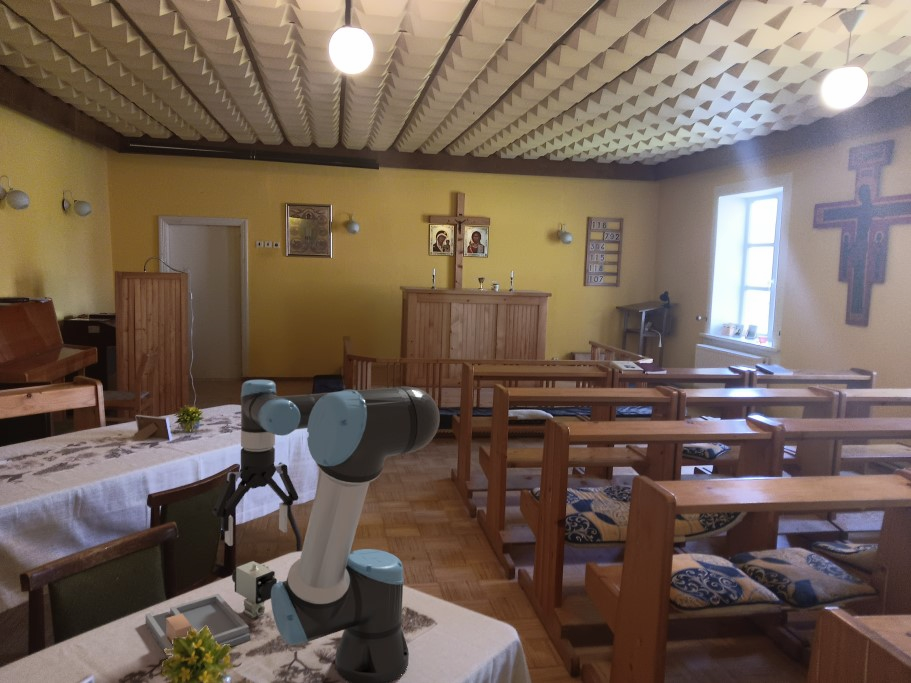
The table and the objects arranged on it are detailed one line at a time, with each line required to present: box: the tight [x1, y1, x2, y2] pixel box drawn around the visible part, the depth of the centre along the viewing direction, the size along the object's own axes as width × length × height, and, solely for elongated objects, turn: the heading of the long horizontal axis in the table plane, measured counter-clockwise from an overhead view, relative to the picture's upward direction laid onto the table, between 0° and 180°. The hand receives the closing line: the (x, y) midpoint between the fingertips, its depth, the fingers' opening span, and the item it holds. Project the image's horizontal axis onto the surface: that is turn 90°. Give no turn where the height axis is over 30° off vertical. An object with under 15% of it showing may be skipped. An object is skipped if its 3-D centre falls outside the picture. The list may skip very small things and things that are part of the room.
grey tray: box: [145, 593, 251, 658], centre depth 139 cm, size 20×16×4 cm
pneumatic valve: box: [231, 559, 278, 619], centre depth 147 cm, size 6×12×12 cm, turn 53°
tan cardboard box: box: [166, 614, 191, 646], centre depth 133 cm, size 6×3×4 cm, turn 41°
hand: (256, 537), depth 146 cm, fingers open, 12 cm apart
